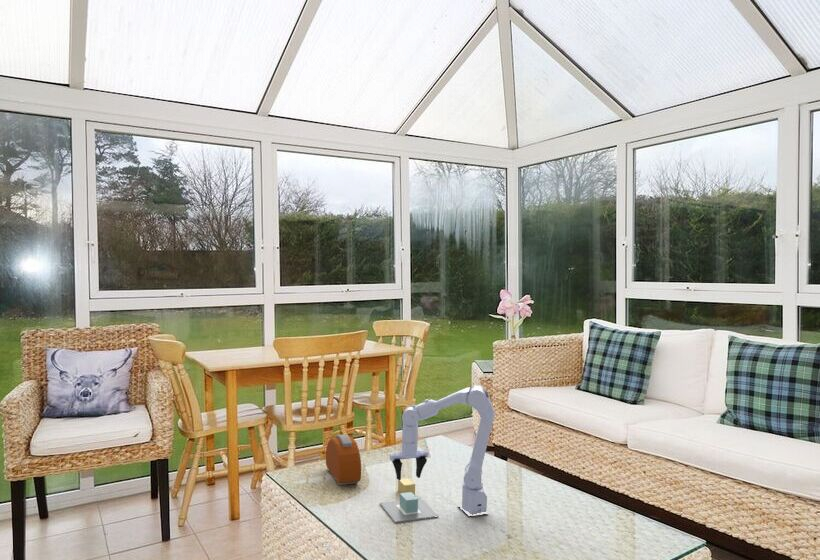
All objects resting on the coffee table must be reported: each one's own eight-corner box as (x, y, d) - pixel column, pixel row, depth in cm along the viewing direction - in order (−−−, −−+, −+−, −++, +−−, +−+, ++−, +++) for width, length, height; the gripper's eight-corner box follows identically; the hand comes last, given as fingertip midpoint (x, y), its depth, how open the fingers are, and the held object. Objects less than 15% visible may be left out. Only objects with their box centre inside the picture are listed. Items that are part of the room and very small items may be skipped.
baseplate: (438, 517, 197) (438, 515, 197) (394, 523, 191) (395, 521, 191) (420, 499, 212) (420, 497, 212) (379, 504, 206) (379, 502, 206)
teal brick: (417, 511, 199) (418, 498, 199) (406, 513, 198) (406, 500, 198) (410, 504, 205) (411, 491, 205) (399, 505, 204) (400, 493, 204)
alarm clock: (361, 486, 223) (362, 443, 222) (338, 488, 219) (340, 445, 219) (345, 465, 244) (346, 427, 244) (324, 468, 241) (326, 428, 241)
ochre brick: (414, 495, 215) (415, 484, 215) (404, 497, 214) (404, 485, 213) (408, 489, 221) (408, 478, 221) (397, 490, 219) (398, 479, 219)
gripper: (423, 436, 213) (422, 472, 214) (387, 439, 208) (385, 476, 208) (431, 441, 207) (430, 478, 207) (394, 445, 201) (392, 483, 202)
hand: (408, 478), depth 207 cm, fingers open, 7 cm apart
